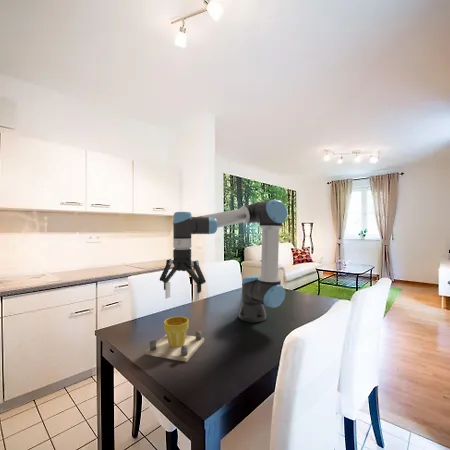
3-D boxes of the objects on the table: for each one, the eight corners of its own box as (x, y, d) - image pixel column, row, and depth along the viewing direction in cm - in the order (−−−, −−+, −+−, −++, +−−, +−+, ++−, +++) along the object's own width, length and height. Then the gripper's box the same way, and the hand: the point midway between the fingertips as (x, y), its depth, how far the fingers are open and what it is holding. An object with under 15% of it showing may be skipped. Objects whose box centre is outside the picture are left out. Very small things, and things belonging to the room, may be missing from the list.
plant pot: (158, 346, 104) (158, 323, 104) (172, 336, 114) (172, 314, 114) (180, 351, 100) (180, 326, 100) (193, 340, 110) (193, 318, 110)
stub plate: (204, 341, 113) (204, 331, 113) (186, 361, 96) (186, 349, 96) (168, 335, 118) (168, 326, 118) (145, 354, 101) (145, 343, 101)
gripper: (151, 248, 106) (151, 298, 106) (206, 250, 99) (206, 304, 99) (160, 247, 113) (160, 294, 113) (213, 248, 106) (213, 299, 106)
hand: (182, 299), depth 106 cm, fingers open, 13 cm apart
